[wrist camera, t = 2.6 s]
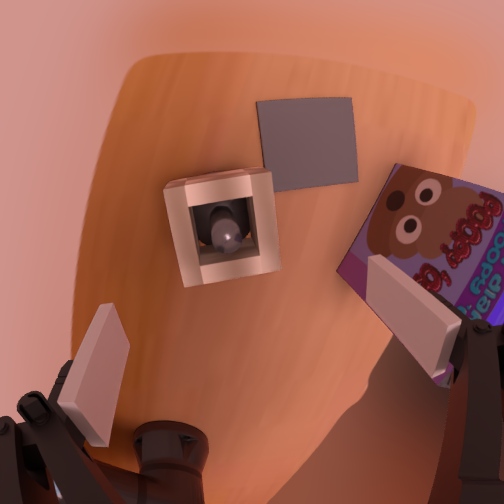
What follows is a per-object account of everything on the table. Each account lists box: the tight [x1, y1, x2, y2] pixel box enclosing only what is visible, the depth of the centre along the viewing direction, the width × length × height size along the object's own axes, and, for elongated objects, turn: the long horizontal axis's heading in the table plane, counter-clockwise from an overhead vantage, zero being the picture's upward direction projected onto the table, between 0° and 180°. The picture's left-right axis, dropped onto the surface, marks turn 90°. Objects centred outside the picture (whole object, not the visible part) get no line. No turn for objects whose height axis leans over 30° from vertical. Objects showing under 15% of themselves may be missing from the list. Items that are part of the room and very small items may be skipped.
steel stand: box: [192, 171, 250, 254], centre depth 30 cm, size 8×8×13 cm
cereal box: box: [337, 164, 504, 389], centre depth 30 cm, size 17×5×24 cm, turn 153°
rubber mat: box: [256, 98, 358, 192], centre depth 35 cm, size 12×11×1 cm
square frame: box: [163, 166, 281, 288], centre depth 28 cm, size 9×9×5 cm
